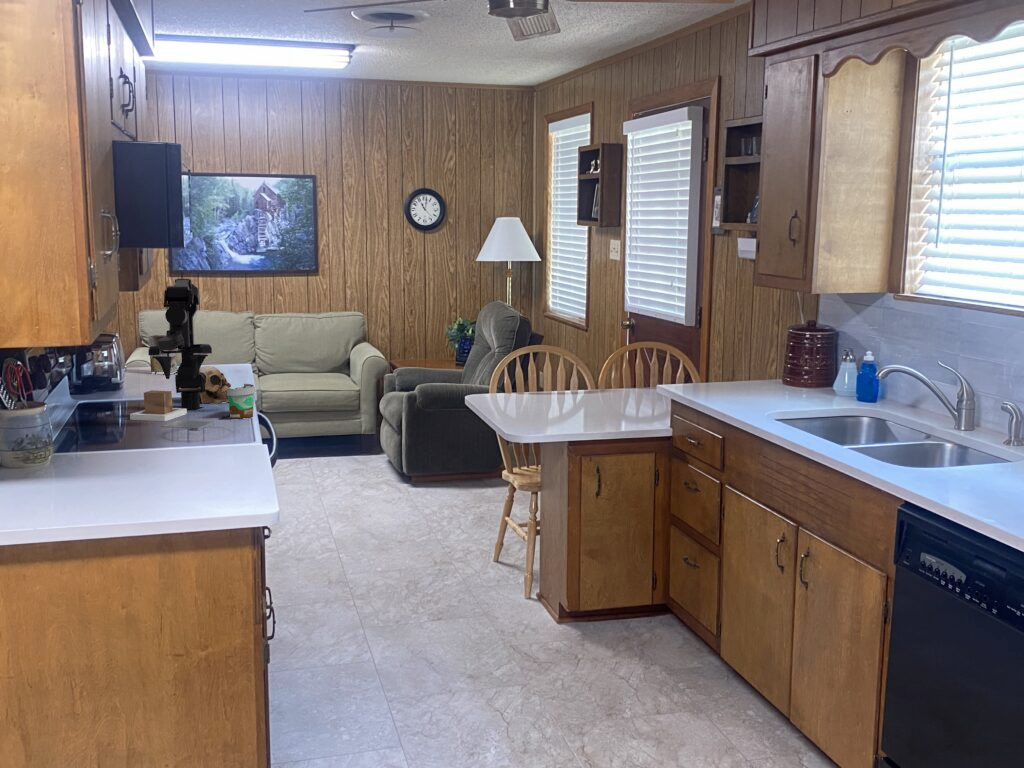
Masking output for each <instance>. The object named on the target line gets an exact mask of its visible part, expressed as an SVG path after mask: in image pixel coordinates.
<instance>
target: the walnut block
mask: <svg viewBox="0 0 1024 768" xmlns="http://www.w3.org/2000/svg"><path fill="white" fill-rule="evenodd" d="M172 394H173V393H172V390H148V391H144V392H143V403H144V405H143V406H144V410H145V414H158V415H163V414H167V413H170V412H173V410H172V408H173V398H172V397H173V395H172Z"/></svg>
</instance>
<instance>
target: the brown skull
mask: <svg viewBox="0 0 1024 768" xmlns="http://www.w3.org/2000/svg"><path fill="white" fill-rule="evenodd" d="M200 374H202V376H203V378H204V380H205V391H204V392H199V395H200V401H201V402H200V403H201V404H202V403H206V404H208V403H222V402H229V400H228V396H227V391H228V389H232V388H231V387H232V384H231V383H230V382H228V380H227V378H226V377H225V375H224V373H223V372H221V371H220V370H219V369H218V368H217V367H215V366H213V365H212V366H211V365H210V366H209V365H206V366H205V365H204V366H201V367H200ZM199 388H201V387H199ZM182 389H194V388H182Z"/></svg>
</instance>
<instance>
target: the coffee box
mask: <svg viewBox="0 0 1024 768" xmlns="http://www.w3.org/2000/svg"><path fill="white" fill-rule="evenodd" d="M165 336H166V334H165V335H164V334H163V335H162V334H161V335H160V334H157V335H151V336H148V343H149V344H148V349H149V348H150V346H158V343H157V340H159V339H161V338H163V337H165ZM175 350H176V349H175ZM167 356H170V357H171V370H170V373H173V372H177V369H178V364H177V363H178V361H177V353H170V354H169V355H167ZM149 360H150V362H149V363H150V373H151V372H155V373H157V372H163V370H162V367H161V365H160V363H159V362H158V361H157V360H156V359H155V358H153V356H150V355H149Z"/></svg>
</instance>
